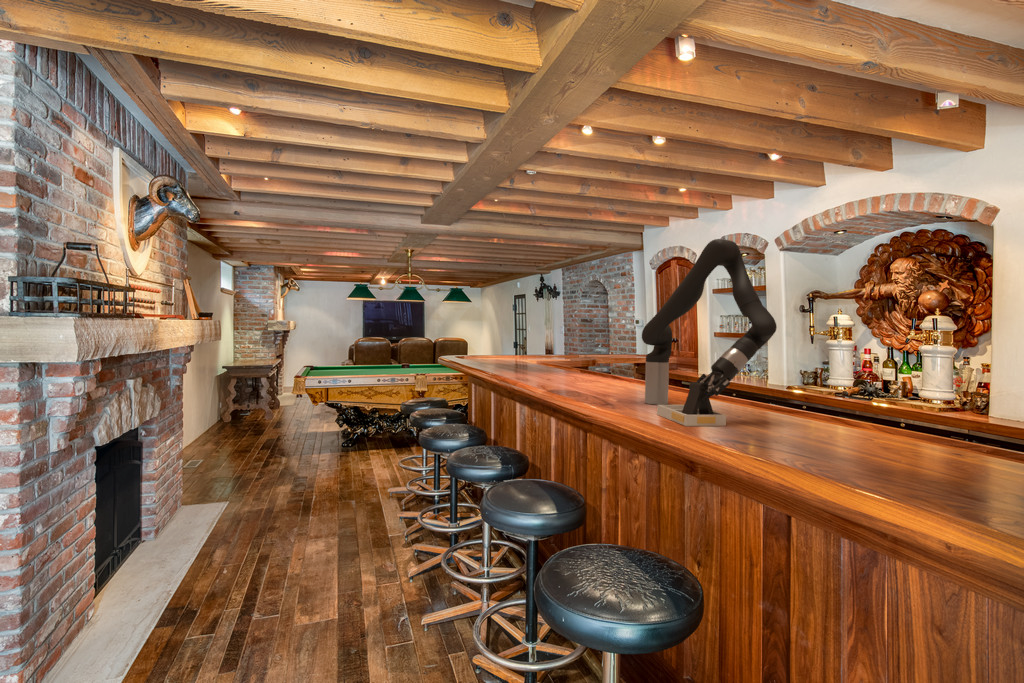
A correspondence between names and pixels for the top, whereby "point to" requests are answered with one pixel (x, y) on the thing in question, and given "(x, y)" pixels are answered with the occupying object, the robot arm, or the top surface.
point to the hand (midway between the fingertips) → (695, 400)
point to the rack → (690, 416)
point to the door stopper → (693, 402)
